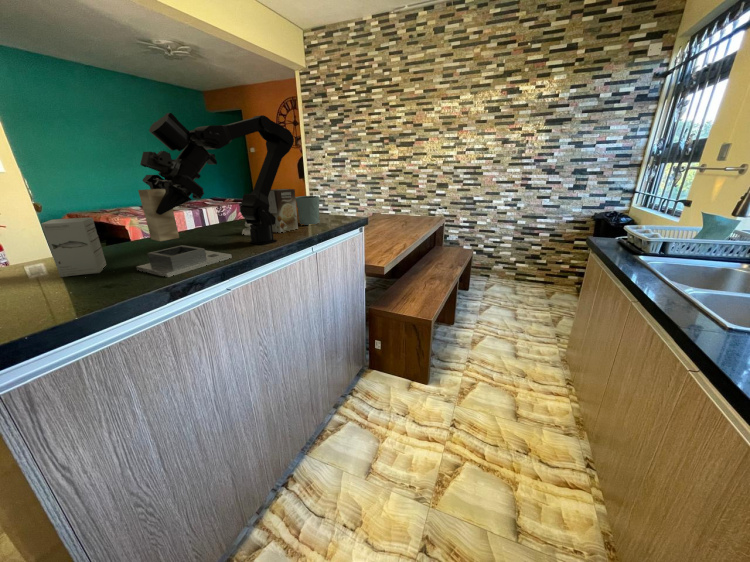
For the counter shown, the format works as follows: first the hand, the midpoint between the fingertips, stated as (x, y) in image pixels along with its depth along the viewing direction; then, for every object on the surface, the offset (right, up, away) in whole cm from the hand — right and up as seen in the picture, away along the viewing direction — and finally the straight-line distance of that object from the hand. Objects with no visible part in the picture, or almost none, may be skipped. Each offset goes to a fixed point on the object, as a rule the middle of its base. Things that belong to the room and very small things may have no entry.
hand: (152, 213), depth 75 cm
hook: (+7, +2, +44) cm, 45 cm away
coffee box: (+18, +3, +48) cm, 52 cm away
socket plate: (+5, -12, +6) cm, 14 cm away
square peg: (+1, -6, +3) cm, 7 cm away
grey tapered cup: (+25, +8, +62) cm, 67 cm away
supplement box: (-17, -15, 0) cm, 22 cm away
